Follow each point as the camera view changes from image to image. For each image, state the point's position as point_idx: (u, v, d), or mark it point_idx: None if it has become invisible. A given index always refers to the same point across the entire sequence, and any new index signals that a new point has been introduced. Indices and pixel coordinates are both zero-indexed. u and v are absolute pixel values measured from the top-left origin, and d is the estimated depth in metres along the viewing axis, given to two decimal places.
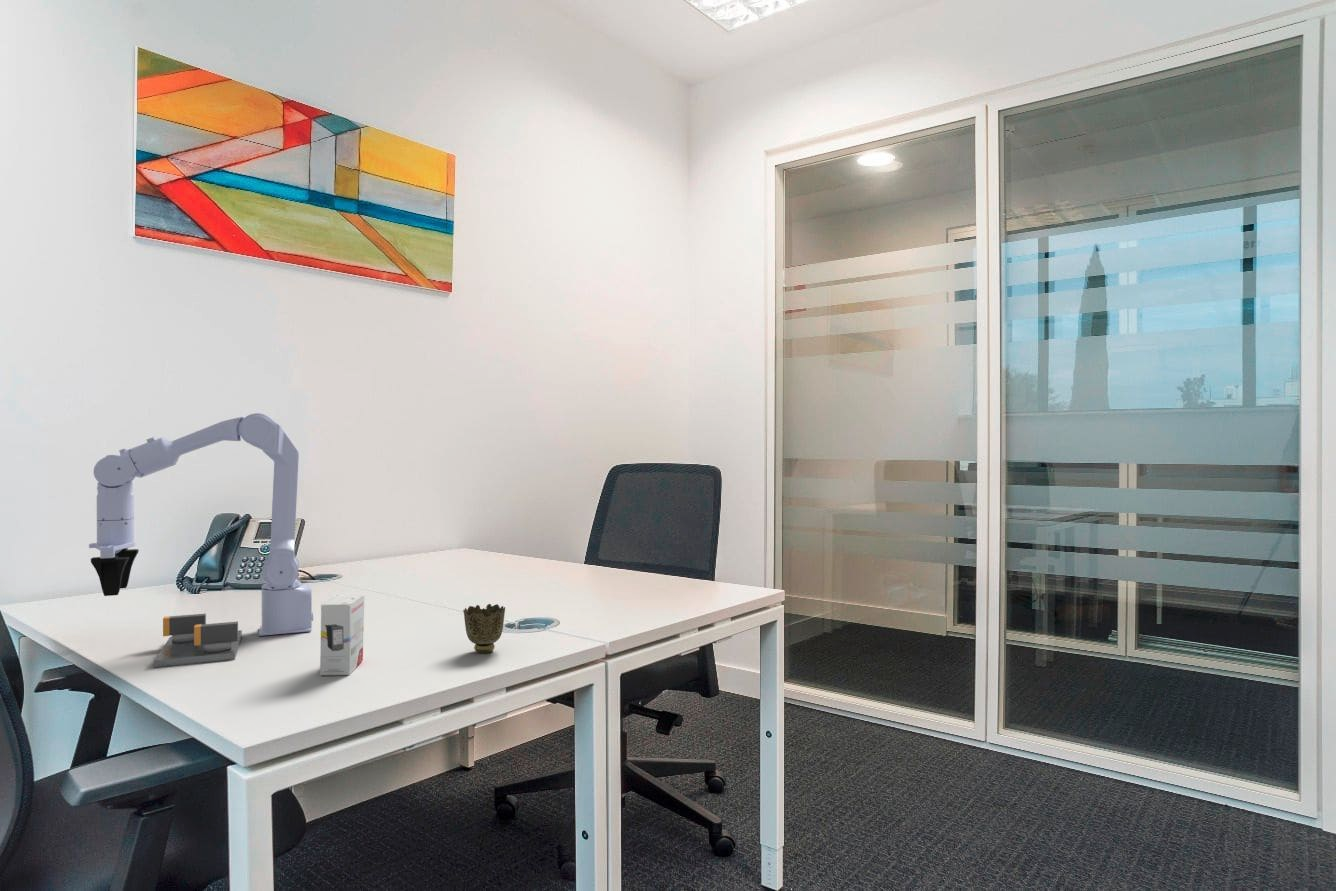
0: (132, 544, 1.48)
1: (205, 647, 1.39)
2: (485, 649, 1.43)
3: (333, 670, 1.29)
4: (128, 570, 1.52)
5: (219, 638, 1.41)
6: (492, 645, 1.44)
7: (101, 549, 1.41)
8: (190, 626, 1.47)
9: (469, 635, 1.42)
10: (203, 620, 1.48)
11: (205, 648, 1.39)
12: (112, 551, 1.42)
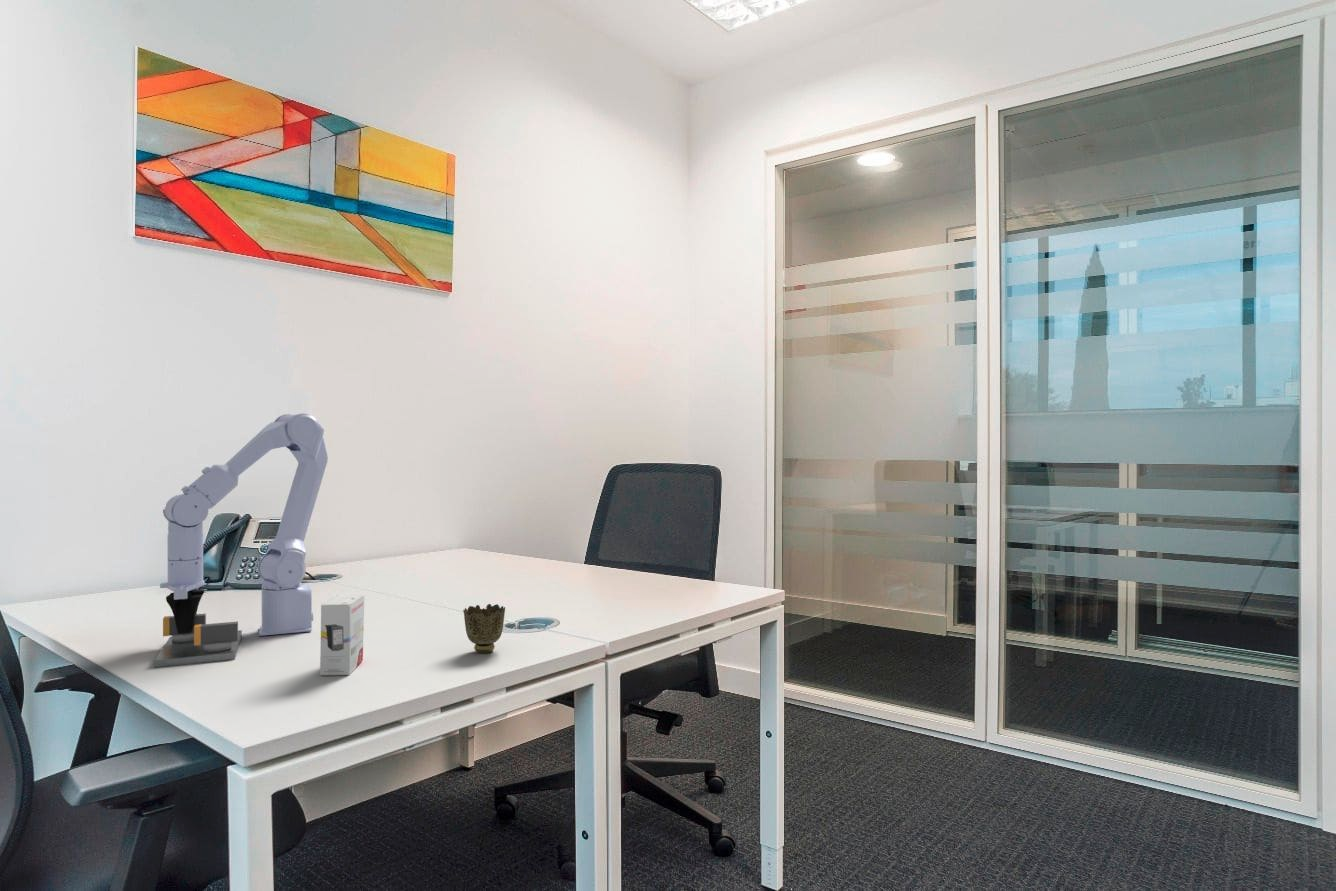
0: (202, 583, 1.48)
1: (205, 647, 1.39)
2: (485, 649, 1.43)
3: (333, 670, 1.29)
4: (195, 611, 1.49)
5: (219, 638, 1.41)
6: (492, 645, 1.44)
7: (175, 590, 1.41)
8: None
9: (469, 635, 1.42)
10: (203, 620, 1.48)
11: (205, 648, 1.39)
12: (185, 592, 1.41)
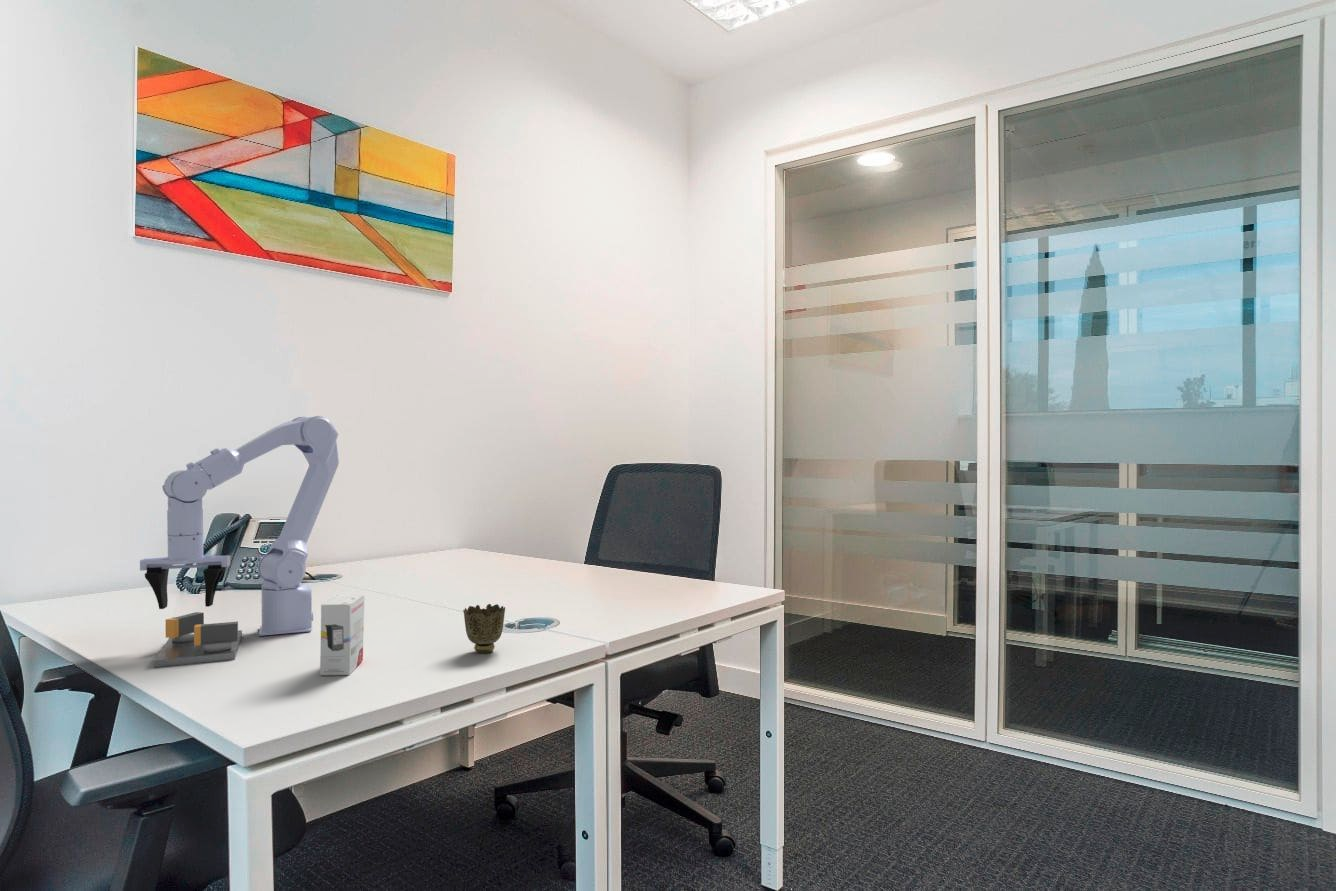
0: None
1: (205, 647, 1.39)
2: (485, 649, 1.43)
3: (333, 670, 1.29)
4: (166, 588, 1.48)
5: (219, 638, 1.41)
6: (492, 645, 1.44)
7: (227, 558, 1.49)
8: (193, 625, 1.48)
9: (469, 635, 1.42)
10: (202, 618, 1.50)
11: (205, 648, 1.39)
12: None
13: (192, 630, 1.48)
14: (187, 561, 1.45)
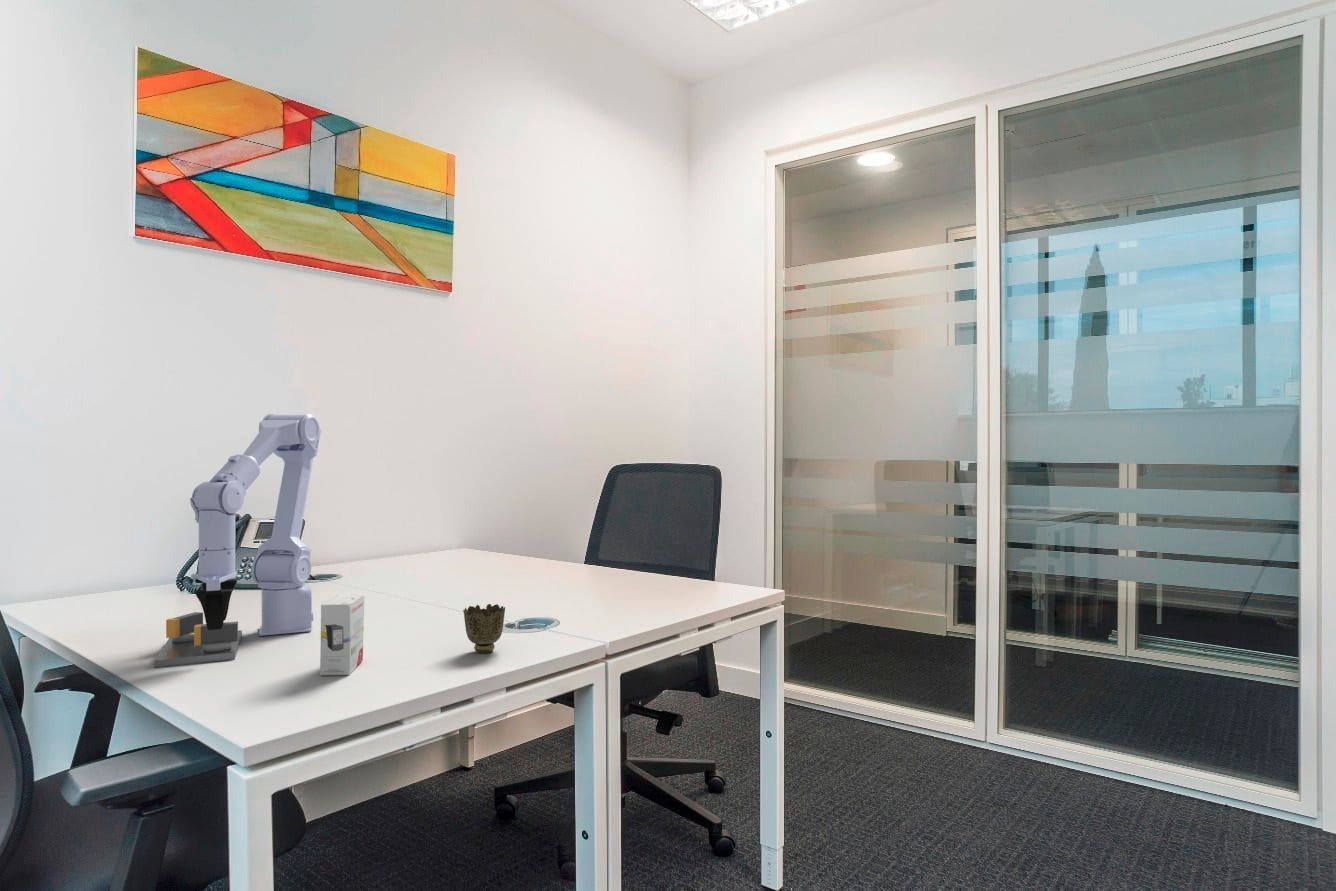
0: (234, 575, 1.41)
1: (205, 647, 1.39)
2: (485, 649, 1.43)
3: (333, 670, 1.29)
4: (227, 601, 1.45)
5: (219, 638, 1.41)
6: (492, 645, 1.44)
7: (207, 581, 1.34)
8: (193, 625, 1.48)
9: (469, 635, 1.42)
10: (201, 618, 1.50)
11: (205, 648, 1.39)
12: (218, 583, 1.35)
13: (192, 630, 1.48)
14: (197, 577, 1.39)
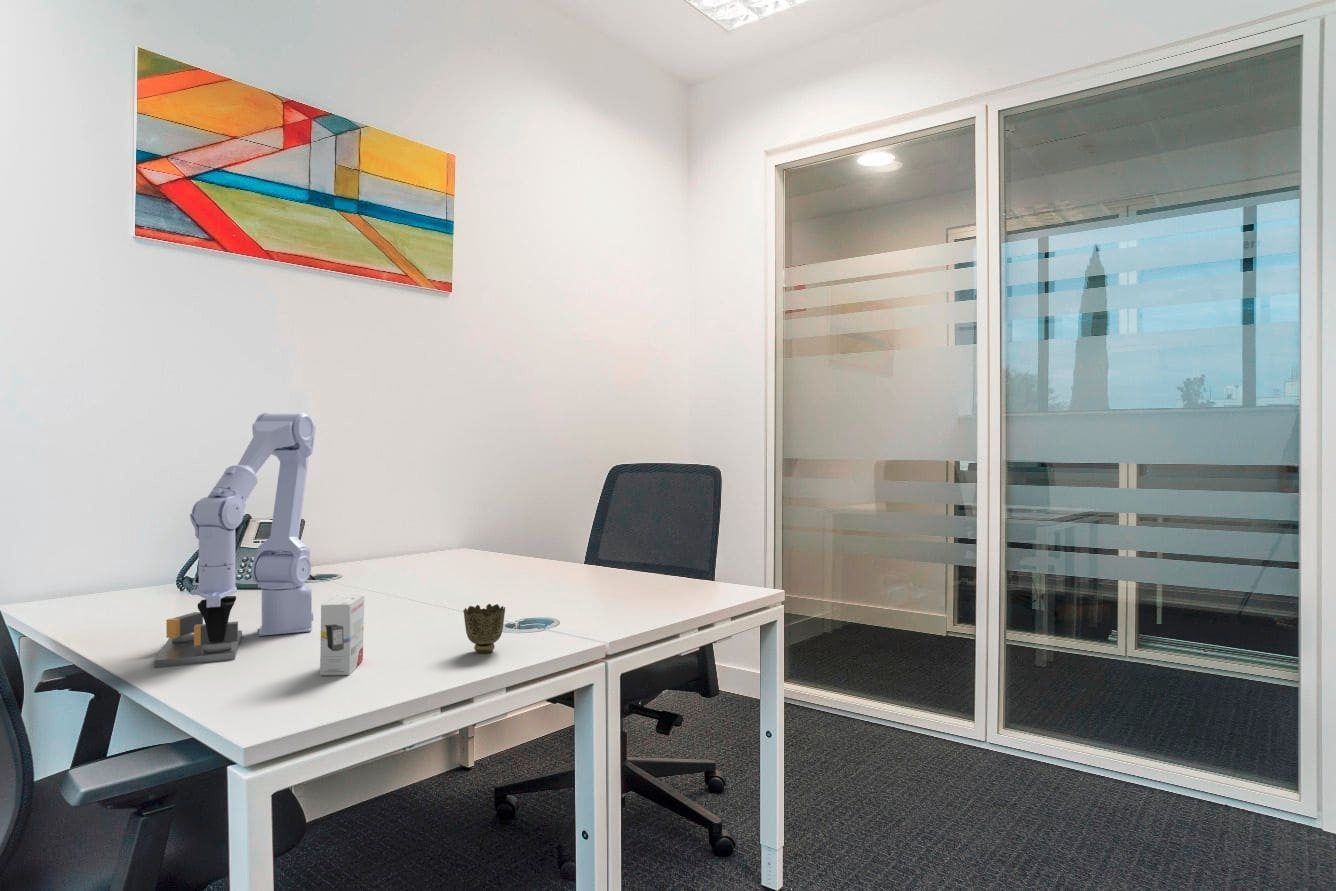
0: (234, 590, 1.41)
1: (205, 647, 1.39)
2: (485, 649, 1.43)
3: (333, 670, 1.29)
4: None
5: None
6: (492, 645, 1.44)
7: (207, 598, 1.34)
8: (193, 625, 1.48)
9: (469, 635, 1.42)
10: (201, 618, 1.50)
11: (205, 648, 1.39)
12: (218, 600, 1.35)
13: (192, 630, 1.48)
14: (197, 592, 1.39)
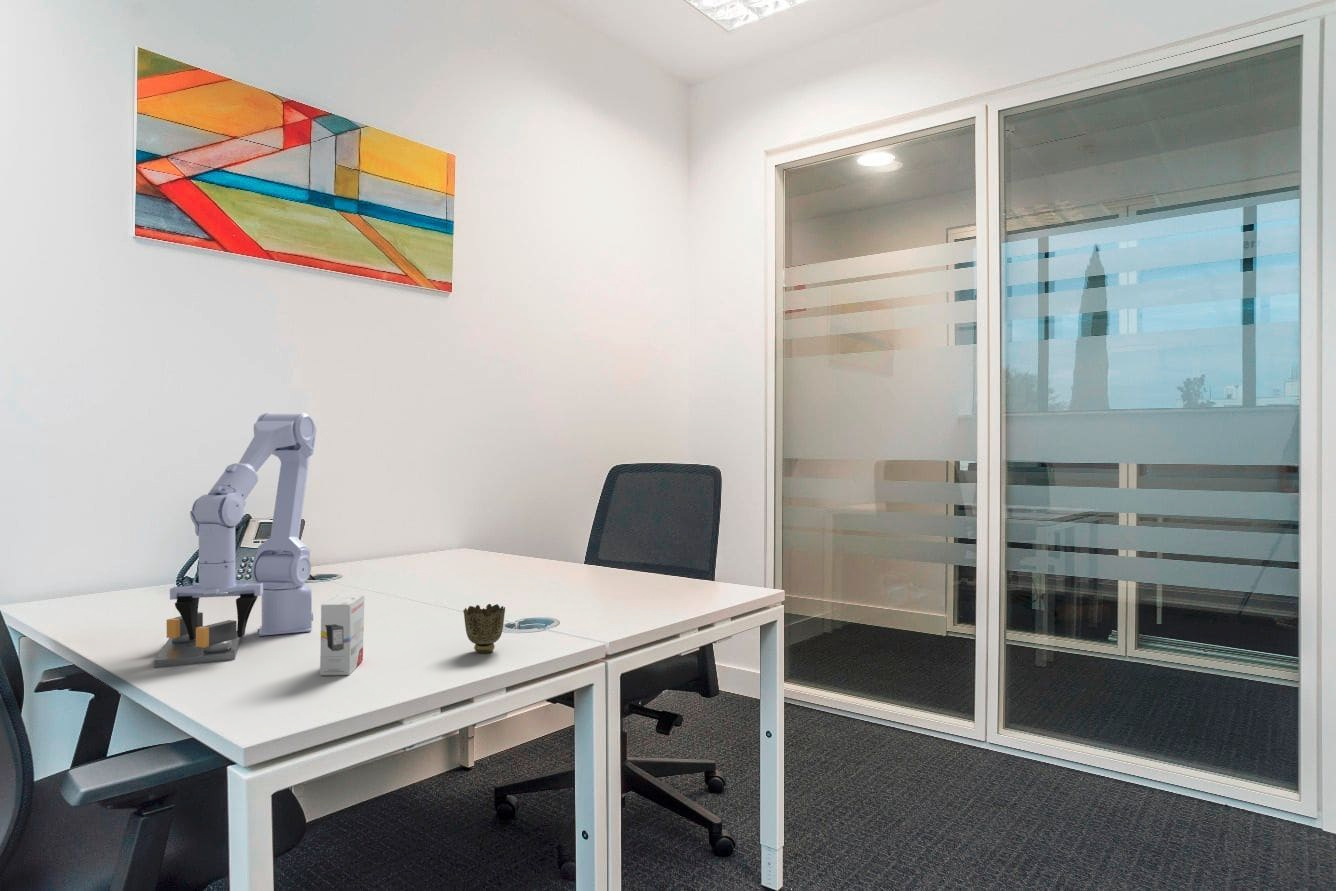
0: None
1: (214, 647, 1.39)
2: (485, 649, 1.43)
3: (333, 670, 1.29)
4: None
5: (222, 637, 1.41)
6: (492, 645, 1.44)
7: (260, 586, 1.42)
8: None
9: (469, 635, 1.42)
10: (201, 618, 1.50)
11: (214, 648, 1.39)
12: (263, 587, 1.44)
13: None
14: (219, 590, 1.39)
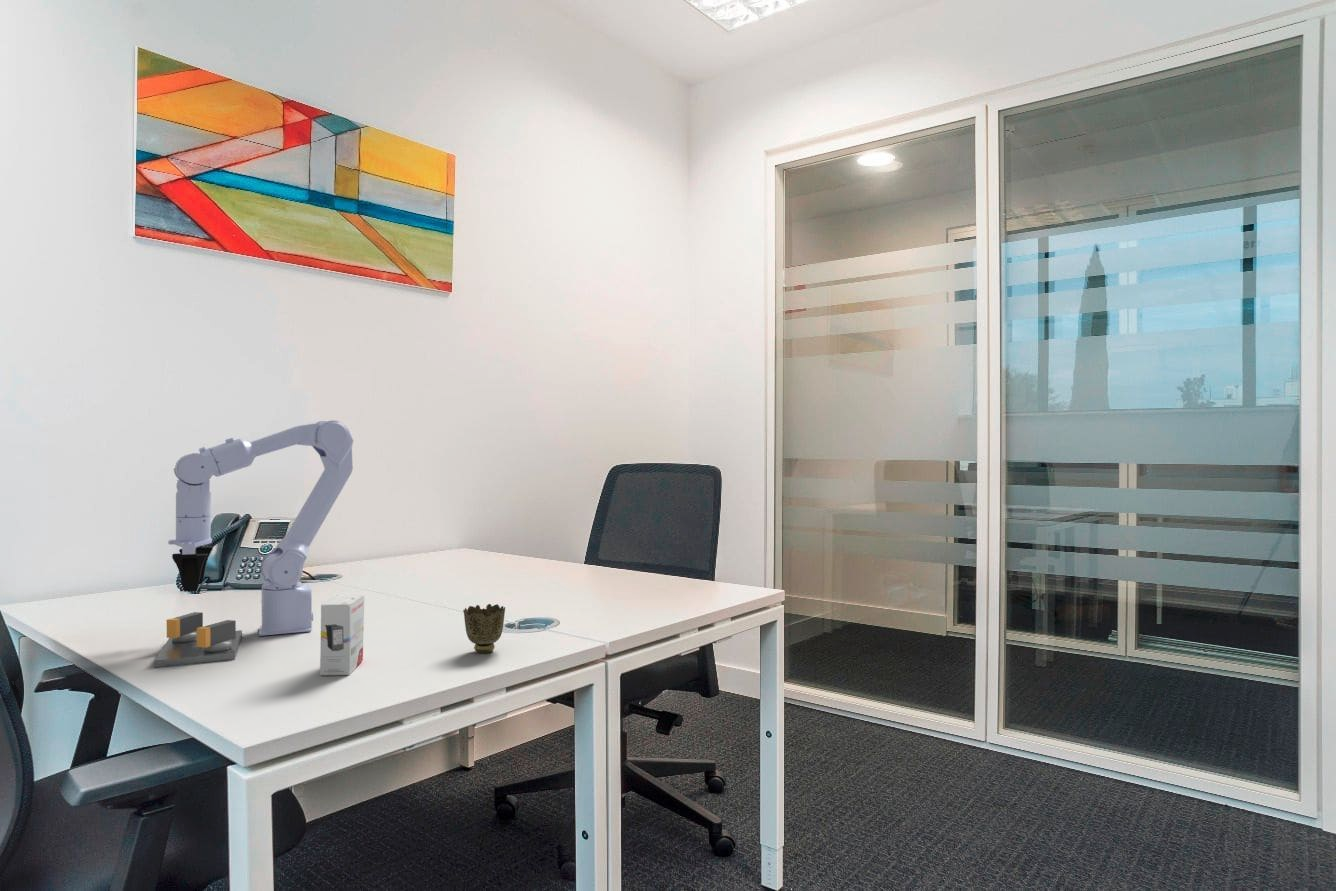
0: (209, 541, 1.51)
1: (215, 647, 1.39)
2: (485, 649, 1.43)
3: (333, 670, 1.29)
4: (203, 566, 1.55)
5: (223, 637, 1.41)
6: (492, 645, 1.44)
7: (183, 545, 1.44)
8: (193, 625, 1.48)
9: (469, 635, 1.42)
10: (201, 618, 1.50)
11: (215, 648, 1.39)
12: (193, 547, 1.45)
13: (192, 630, 1.48)
14: (174, 542, 1.48)
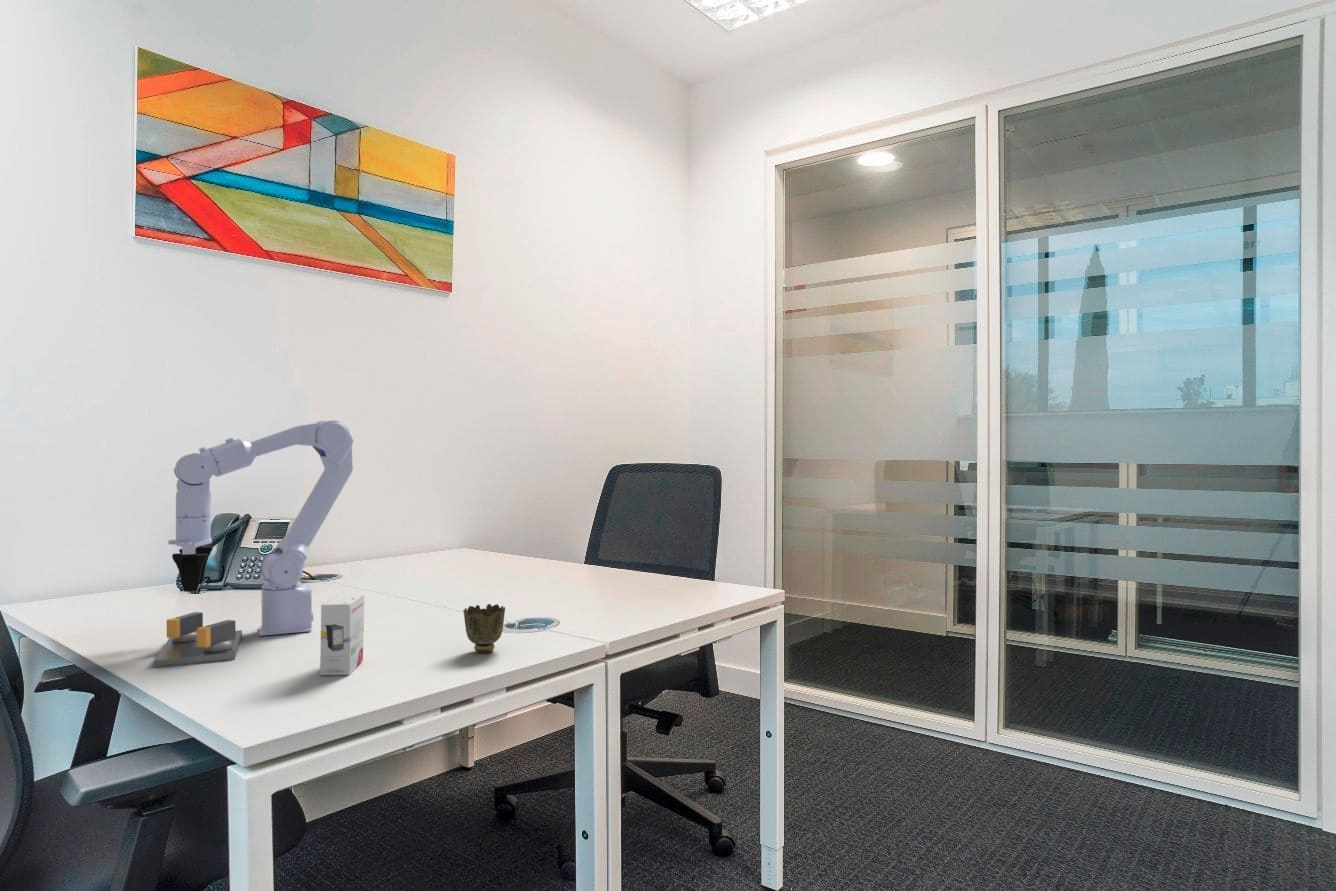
0: (209, 541, 1.51)
1: (215, 647, 1.39)
2: (485, 649, 1.43)
3: (333, 670, 1.29)
4: (203, 566, 1.55)
5: (223, 637, 1.41)
6: (492, 645, 1.44)
7: (183, 545, 1.44)
8: (193, 625, 1.48)
9: (469, 635, 1.42)
10: (201, 618, 1.50)
11: (215, 648, 1.39)
12: (193, 547, 1.45)
13: (192, 630, 1.48)
14: (174, 542, 1.48)
